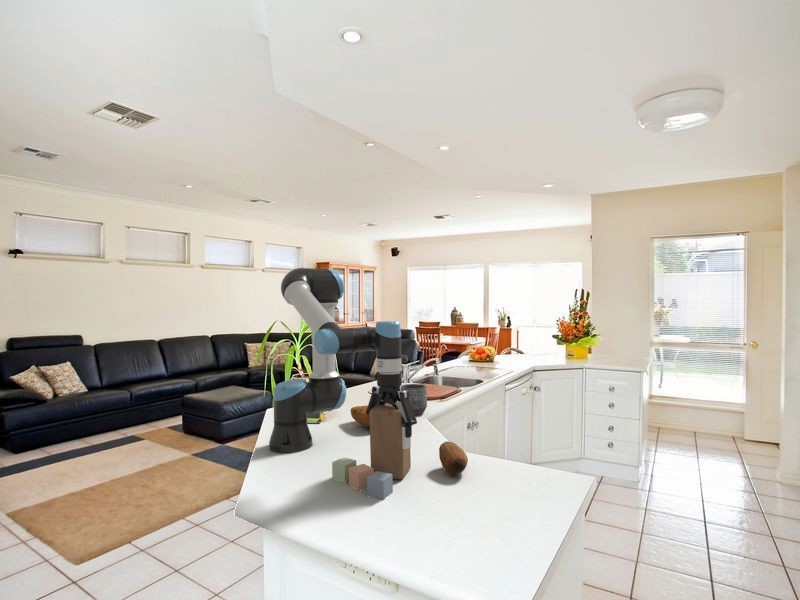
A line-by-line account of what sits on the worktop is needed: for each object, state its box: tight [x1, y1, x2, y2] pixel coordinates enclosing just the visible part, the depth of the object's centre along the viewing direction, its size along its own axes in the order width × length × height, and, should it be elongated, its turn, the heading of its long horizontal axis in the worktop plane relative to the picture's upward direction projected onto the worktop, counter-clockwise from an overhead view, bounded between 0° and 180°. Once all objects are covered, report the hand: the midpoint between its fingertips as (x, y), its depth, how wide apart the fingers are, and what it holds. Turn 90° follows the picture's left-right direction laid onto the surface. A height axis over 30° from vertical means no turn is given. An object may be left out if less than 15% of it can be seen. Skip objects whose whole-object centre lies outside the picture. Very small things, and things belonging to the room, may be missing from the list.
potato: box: [438, 441, 469, 476], centre depth 134 cm, size 8×14×8 cm
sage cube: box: [331, 456, 357, 483], centre depth 130 cm, size 5×5×5 cm
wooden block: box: [369, 403, 412, 480], centre depth 133 cm, size 10×10×20 cm
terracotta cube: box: [348, 463, 374, 492], centre depth 125 cm, size 5×5×5 cm
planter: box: [400, 383, 428, 417], centre depth 205 cm, size 12×12×13 cm
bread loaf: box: [350, 404, 370, 427], centre depth 187 cm, size 22×17×8 cm
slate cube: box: [366, 471, 394, 501], centre depth 119 cm, size 5×5×5 cm
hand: (390, 443), depth 133 cm, fingers closed on wooden block, 13 cm apart
